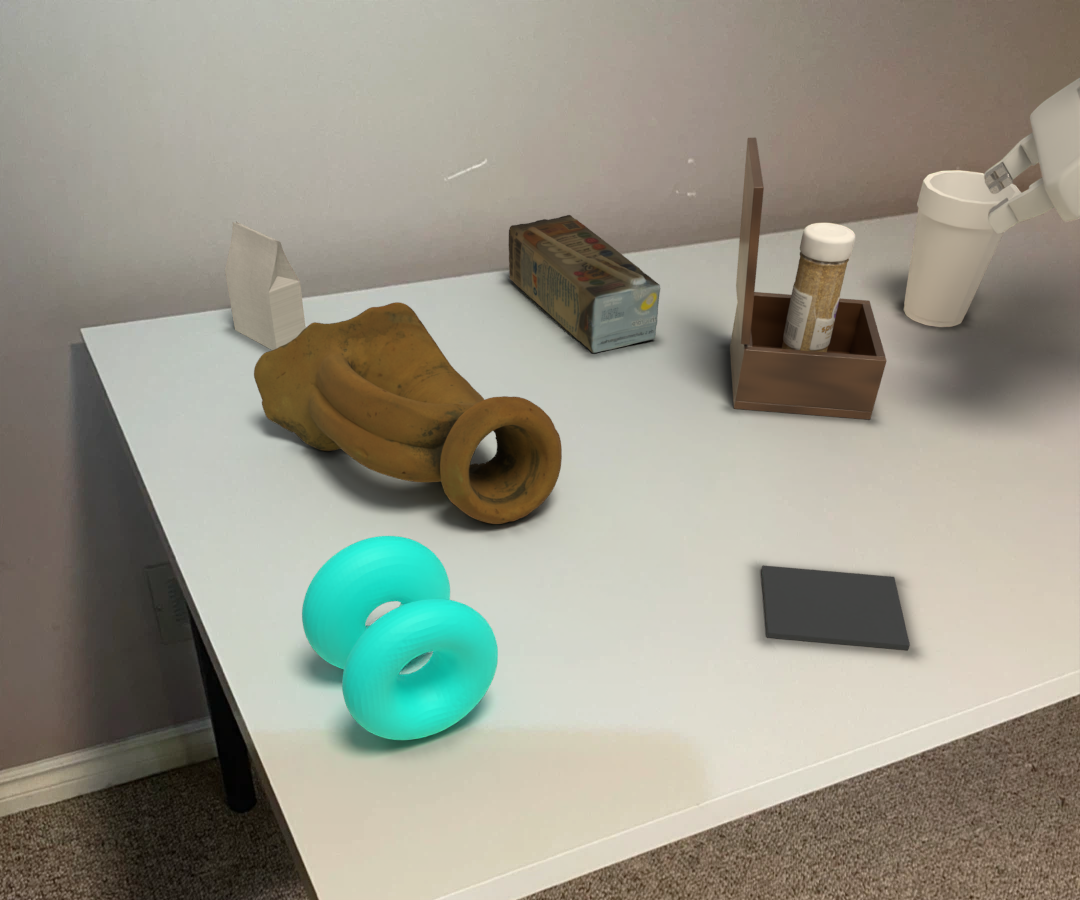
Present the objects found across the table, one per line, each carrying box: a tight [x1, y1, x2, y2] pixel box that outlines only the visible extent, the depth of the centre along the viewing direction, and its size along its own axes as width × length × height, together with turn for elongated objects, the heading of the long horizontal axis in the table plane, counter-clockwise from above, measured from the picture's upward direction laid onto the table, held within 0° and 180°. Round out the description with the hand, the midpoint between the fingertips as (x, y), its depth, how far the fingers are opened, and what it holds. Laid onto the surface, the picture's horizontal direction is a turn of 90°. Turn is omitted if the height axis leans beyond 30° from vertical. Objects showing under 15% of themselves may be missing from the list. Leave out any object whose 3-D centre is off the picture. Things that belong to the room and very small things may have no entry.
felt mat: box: [760, 564, 911, 651], centre depth 79 cm, size 10×8×1 cm
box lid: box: [735, 137, 765, 344], centre depth 95 cm, size 13×13×1 cm
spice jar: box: [782, 222, 856, 352], centre depth 98 cm, size 5×5×14 cm
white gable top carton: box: [224, 221, 307, 351], centre depth 103 cm, size 4×7×10 cm, turn 48°
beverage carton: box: [508, 214, 661, 354], centre depth 111 cm, size 8×19×7 cm, turn 27°
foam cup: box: [903, 169, 1022, 328], centre depth 111 cm, size 10×9×13 cm
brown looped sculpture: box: [253, 301, 563, 525], centre depth 86 cm, size 18×13×22 cm
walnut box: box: [729, 291, 888, 421], centre depth 102 cm, size 13×13×6 cm
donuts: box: [301, 535, 499, 741], centre depth 67 cm, size 10×10×10 cm
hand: (989, 203), depth 89 cm, fingers open, 8 cm apart
